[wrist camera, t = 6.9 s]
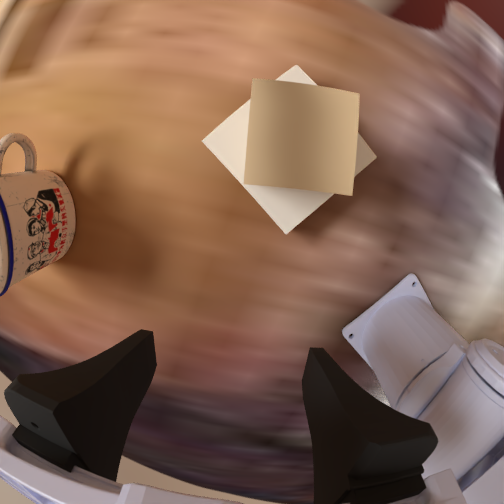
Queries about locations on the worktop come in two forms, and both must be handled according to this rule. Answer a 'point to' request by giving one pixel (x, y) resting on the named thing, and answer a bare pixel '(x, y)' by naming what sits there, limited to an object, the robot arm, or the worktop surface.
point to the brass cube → (301, 137)
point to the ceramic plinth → (271, 198)
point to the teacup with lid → (31, 217)
